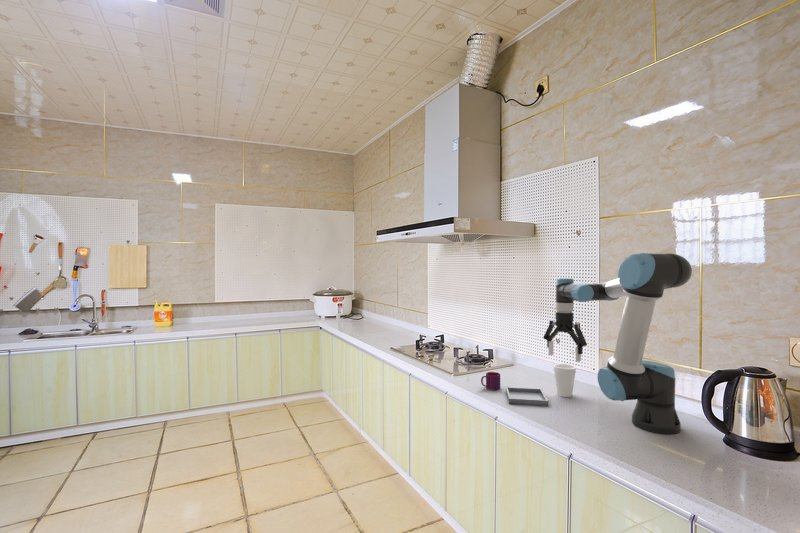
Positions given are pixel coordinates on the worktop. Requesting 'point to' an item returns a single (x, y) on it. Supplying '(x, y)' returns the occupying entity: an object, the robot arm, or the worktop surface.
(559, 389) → the foam cup
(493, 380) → the cup
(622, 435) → the worktop surface
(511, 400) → the tray
